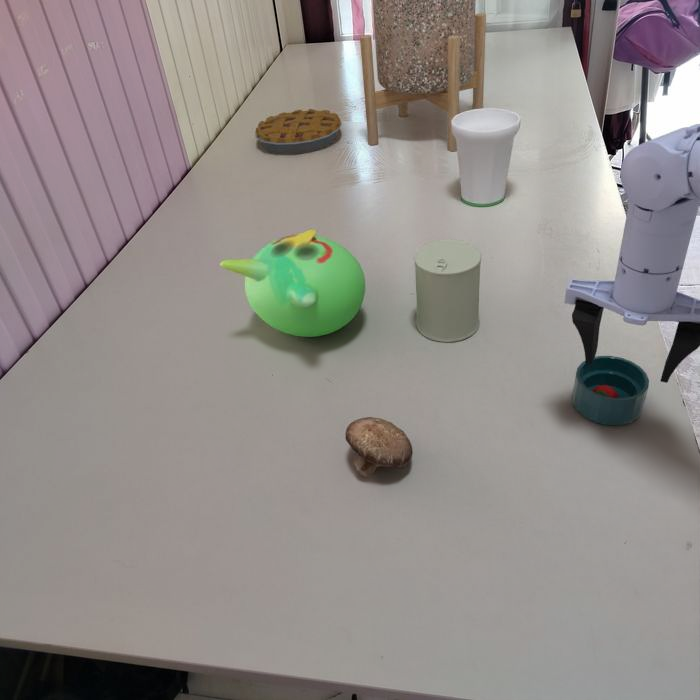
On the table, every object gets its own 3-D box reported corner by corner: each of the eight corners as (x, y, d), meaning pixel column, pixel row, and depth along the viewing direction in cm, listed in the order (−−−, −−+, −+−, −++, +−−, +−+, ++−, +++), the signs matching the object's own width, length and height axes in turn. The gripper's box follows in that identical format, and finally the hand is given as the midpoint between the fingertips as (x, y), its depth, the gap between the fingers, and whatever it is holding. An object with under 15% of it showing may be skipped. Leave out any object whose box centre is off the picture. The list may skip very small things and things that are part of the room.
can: (407, 336, 92) (404, 265, 85) (426, 301, 99) (425, 232, 91) (470, 347, 89) (472, 274, 82) (485, 310, 95) (489, 239, 88)
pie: (341, 152, 150) (339, 131, 147) (251, 160, 152) (246, 140, 149) (344, 121, 167) (342, 101, 164) (263, 128, 169) (259, 109, 166)
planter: (457, 152, 144) (457, -9, 124) (366, 146, 153) (353, -5, 133) (484, 118, 159) (488, -30, 139) (400, 114, 168) (392, -25, 148)
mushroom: (342, 480, 68) (361, 427, 67) (329, 451, 76) (346, 403, 75) (408, 496, 70) (428, 444, 69) (389, 466, 78) (406, 419, 77)
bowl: (643, 390, 79) (650, 362, 76) (639, 434, 74) (646, 406, 71) (576, 377, 82) (581, 350, 79) (567, 419, 76) (571, 392, 74)
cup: (485, 178, 132) (488, 103, 122) (529, 197, 123) (535, 118, 113) (437, 197, 127) (437, 120, 117) (479, 218, 118) (482, 137, 109)
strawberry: (624, 390, 76) (617, 387, 73) (617, 415, 76) (609, 414, 73) (597, 383, 78) (589, 380, 75) (590, 408, 78) (582, 406, 75)
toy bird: (387, 310, 98) (381, 224, 89) (327, 374, 87) (312, 284, 78) (294, 284, 106) (279, 203, 97) (228, 340, 96) (205, 256, 87)
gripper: (562, 265, 61) (549, 372, 70) (733, 295, 55) (695, 409, 63) (581, 232, 66) (566, 336, 74) (740, 256, 59) (704, 367, 68)
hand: (627, 367), depth 69 cm, fingers open, 7 cm apart
